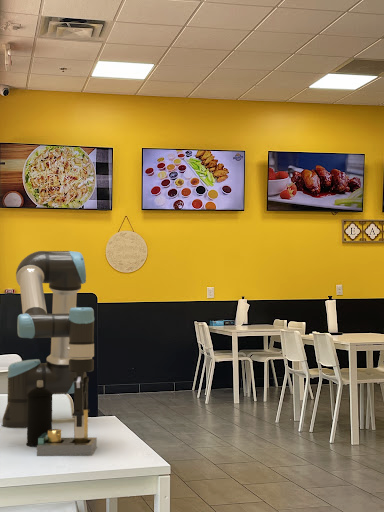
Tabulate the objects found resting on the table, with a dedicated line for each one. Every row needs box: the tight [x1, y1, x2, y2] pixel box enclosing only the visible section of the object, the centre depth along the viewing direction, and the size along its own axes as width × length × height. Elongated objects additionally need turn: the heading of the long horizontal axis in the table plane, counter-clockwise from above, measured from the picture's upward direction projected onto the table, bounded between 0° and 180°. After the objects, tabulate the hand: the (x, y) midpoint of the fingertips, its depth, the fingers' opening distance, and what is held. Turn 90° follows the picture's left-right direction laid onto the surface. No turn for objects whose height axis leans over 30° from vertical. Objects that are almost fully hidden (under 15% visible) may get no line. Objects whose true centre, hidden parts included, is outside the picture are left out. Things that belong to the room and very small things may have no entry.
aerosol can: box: [25, 380, 54, 448], centre depth 233 cm, size 8×8×20 cm
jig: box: [36, 428, 98, 457], centre depth 221 cm, size 12×16×6 cm
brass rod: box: [73, 409, 89, 443], centre depth 222 cm, size 4×4×12 cm
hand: (81, 435), depth 222 cm, fingers open, 5 cm apart
